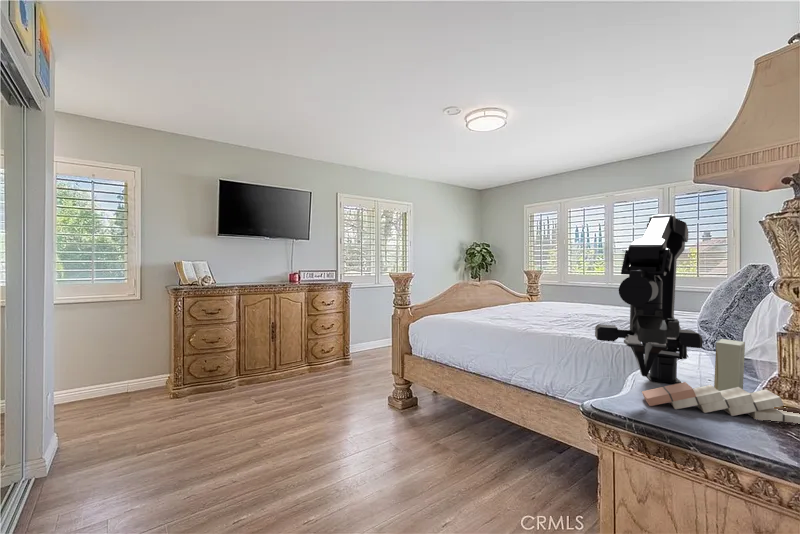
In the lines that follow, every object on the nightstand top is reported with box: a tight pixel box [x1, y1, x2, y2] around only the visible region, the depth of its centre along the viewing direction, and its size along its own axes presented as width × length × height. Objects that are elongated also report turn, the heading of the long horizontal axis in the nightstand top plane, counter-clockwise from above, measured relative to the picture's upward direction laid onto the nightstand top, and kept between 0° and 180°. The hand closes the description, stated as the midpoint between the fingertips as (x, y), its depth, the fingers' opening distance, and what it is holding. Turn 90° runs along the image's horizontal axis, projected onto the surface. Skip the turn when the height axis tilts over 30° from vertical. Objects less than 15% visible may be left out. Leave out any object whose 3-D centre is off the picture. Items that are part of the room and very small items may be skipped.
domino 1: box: [641, 381, 696, 407], centre depth 83 cm, size 5×2×8 cm
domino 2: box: [695, 387, 754, 414], centre depth 80 cm, size 5×2×8 cm
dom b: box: [668, 384, 723, 410], centre depth 82 cm, size 5×2×8 cm
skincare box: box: [713, 338, 746, 391], centre depth 90 cm, size 6×4×12 cm
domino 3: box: [746, 408, 800, 424], centre depth 77 cm, size 5×2×8 cm
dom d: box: [723, 389, 785, 417], centre depth 79 cm, size 5×2×8 cm
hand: (644, 376), depth 85 cm, fingers closed
